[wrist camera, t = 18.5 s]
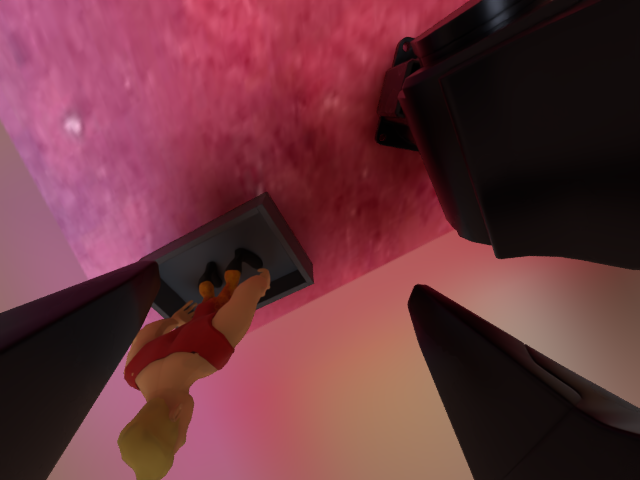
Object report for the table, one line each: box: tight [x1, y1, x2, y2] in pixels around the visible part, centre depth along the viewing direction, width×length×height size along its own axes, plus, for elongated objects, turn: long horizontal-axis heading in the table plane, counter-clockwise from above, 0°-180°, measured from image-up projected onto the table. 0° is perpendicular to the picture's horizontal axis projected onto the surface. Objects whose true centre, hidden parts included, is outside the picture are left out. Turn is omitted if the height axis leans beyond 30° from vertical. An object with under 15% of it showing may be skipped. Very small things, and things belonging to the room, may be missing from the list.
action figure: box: [117, 248, 270, 480], centre depth 16 cm, size 10×4×15 cm, turn 116°
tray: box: [139, 192, 314, 328], centre depth 22 cm, size 13×8×3 cm, turn 117°
